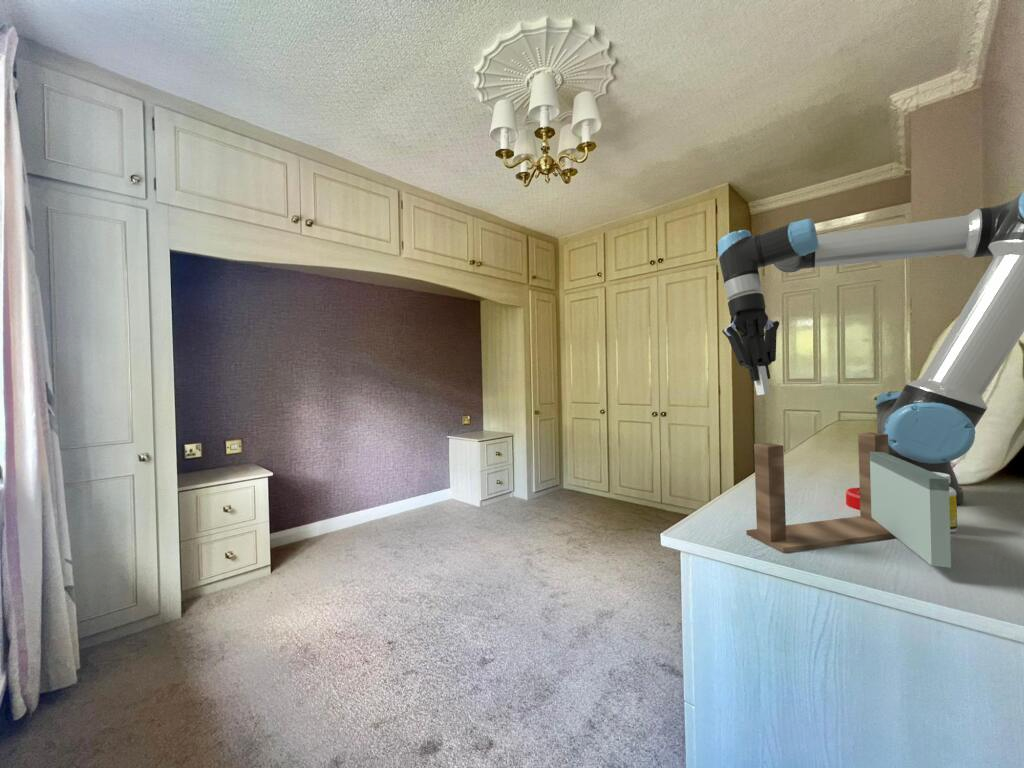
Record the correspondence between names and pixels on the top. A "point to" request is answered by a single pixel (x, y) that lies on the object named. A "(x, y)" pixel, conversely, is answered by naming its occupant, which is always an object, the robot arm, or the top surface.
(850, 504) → the decorative ornament
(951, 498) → the supplement bottle
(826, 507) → the top surface
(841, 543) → the gate frame
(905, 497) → the gate
